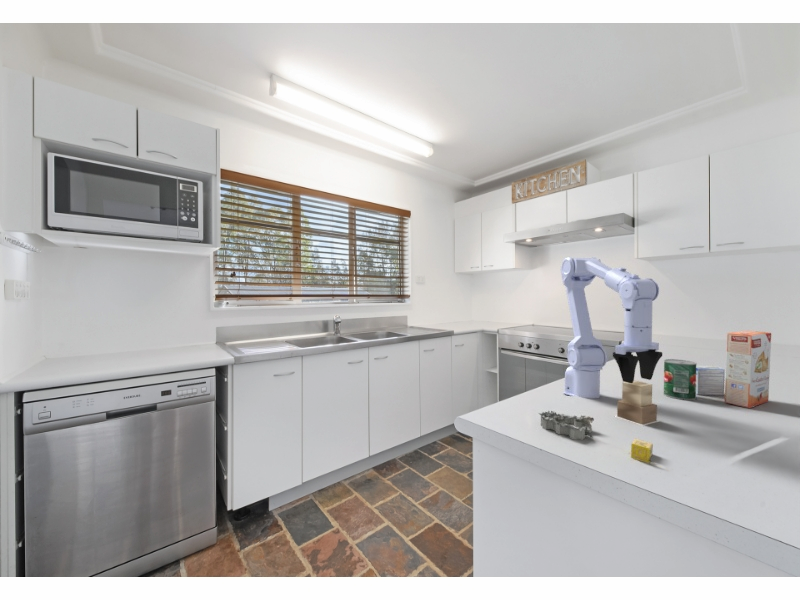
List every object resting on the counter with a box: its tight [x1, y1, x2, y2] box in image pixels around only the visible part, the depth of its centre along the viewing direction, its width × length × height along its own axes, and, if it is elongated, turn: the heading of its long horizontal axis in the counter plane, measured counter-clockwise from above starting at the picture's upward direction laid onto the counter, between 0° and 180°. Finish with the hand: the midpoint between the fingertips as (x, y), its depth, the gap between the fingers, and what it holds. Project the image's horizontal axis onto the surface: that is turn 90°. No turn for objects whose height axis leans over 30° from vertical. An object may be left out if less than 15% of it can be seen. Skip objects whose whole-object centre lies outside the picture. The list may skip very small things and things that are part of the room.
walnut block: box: [616, 399, 658, 426], centre depth 86 cm, size 6×6×4 cm
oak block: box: [621, 379, 653, 407], centre depth 86 cm, size 4×4×5 cm
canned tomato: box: [662, 358, 697, 401], centre depth 107 cm, size 8×8×11 cm
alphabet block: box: [630, 438, 654, 464], centre depth 67 cm, size 3×3×3 cm
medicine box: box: [696, 365, 726, 396], centre depth 110 cm, size 8×4×9 cm, turn 84°
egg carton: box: [538, 410, 595, 441], centre depth 81 cm, size 11×8×4 cm
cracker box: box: [724, 330, 772, 409], centre depth 101 cm, size 14×6×21 cm, turn 117°
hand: (637, 380), depth 86 cm, fingers open, 7 cm apart
